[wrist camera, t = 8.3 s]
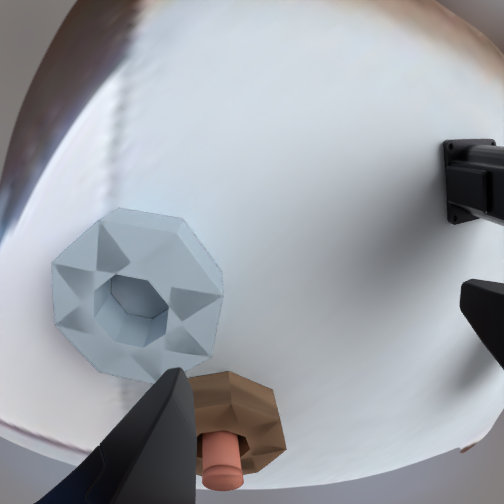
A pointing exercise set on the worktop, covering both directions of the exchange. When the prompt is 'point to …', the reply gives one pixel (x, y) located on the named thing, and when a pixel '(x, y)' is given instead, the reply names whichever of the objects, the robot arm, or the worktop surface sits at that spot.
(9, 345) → the worktop surface
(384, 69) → the worktop surface
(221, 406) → the walnut bead
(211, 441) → the pink rounded cylinder
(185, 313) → the blue bead
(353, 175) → the worktop surface
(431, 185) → the worktop surface
